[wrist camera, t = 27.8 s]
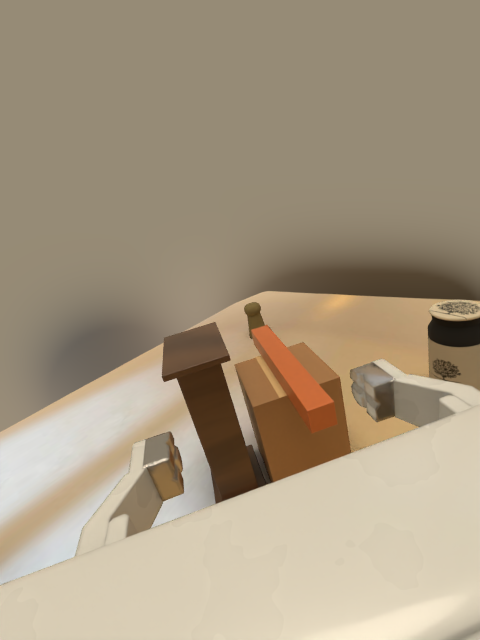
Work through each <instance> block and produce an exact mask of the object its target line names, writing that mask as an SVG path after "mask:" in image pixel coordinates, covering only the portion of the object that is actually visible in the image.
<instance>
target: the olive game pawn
mask: <svg viewBox="0 0 480 640" xmlns="http://www.w3.org/2000/svg"><path fill="white" fill-rule="evenodd" d="M260 310H261V307H260V305H259V304H258V303H256V302H252V303H249V304H247V305H246V306H245V308H244V311H245V313H246V314H247V316H248V324H249V333H250V338H252V339H253V337H252V333H251V330H252V329H256V328H259V327H262V326H265V324H264V322H263V319H262V316H261V314H260Z"/></svg>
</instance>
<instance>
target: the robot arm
mask: <svg viewBox="0 0 480 640" xmlns="http://www.w3.org/2000/svg"><path fill="white" fill-rule="evenodd" d="M350 378H351V379H352V380H353V381H354V382H353V384H352V386H351V388H352V393H353V396H354V398H355V400H356V401H357V403H358V404H359V405H360V406H361V407H365V408H367V413H368V414H369V415H370V416H371V417H372V418H373V419H374V420H375V421H376V422H379V421H382V420H385V419H388V418H391V417H394V416H395V417H396V418H399V419H401V420H404V421H406V422H409V423H411V424H413V425H416V426H418V427H419V428H416V429H414V430H411V431H408V432H406V433H403V434H400V435H398V436H395V437H392V438H390V439H387V440H384V441H382V442H379V443H376V444H374V445H371V446H368V447H366V448H363V449H360V450H358V451H355V452H352V453H350V454H347V455H344V456H342V457H339V458H337V459H334V460H331V461H329V462H326V463H323V464H321V465H318V466H315V467H313V468H310V469H307V470H305V471H302V472H299V473H297V474H294V475H291V476H289V477H286V478H283V479H281V480H278V481H276V482H273V483H270V484H268V485H265V486H262V487H260V488H257V489H254V490H252V491H249V492H246V493H244V494H241V495H238V496H236V497H233V498H230V499H228V500H225V501H222V502H220V503H217V504H214V505H212V506H209V507H206V508H204V509H201V510H198V511H196V512H193V513H190V514H188V515H185V516H182V517H180V518H177V519H174V520H172V521H169V522H166V523H164V524H161V525H159V526H156V527H153V528H151V526H152V524H153V522H154V520H155V518H156V516H157V514H158V512H159V510H160V508H161V506H162V504H163V501H165V500H168V499H170V498H173V497H175V496H178V495H180V494H183V493H184V485H183V477H182V475H181V472H182V471H183V467H182V460H181V456H180V452H179V450H178V447H176V446H175V445H174V438H173V435H172V433H171V432H166V433H163V434H160V435H157V436H154V437H151V438H148V439H145V440H142V441H139V442H136V443H134V444H133V447H132V454H131V460H130V466H129V473H128V474H126V475H124V477H123V478H122V479H121V480H120V482H119V483H118V484H117V485H116V487H115V488H114V489H113V490H112V492H111V493H110V494H109V495H108V497H107V498H106V499H105V501H104V502H103V503H102V504H101V506H100V507H99V508H98V509H97V511H96V512H95V513H94V514H93V516H92V517H91V518H90V519H89V521H88V522H87V523H86V524H85V526H84V527H83V528H82V532H81V535H80V539H79V542H78V546H77V550H76V553H75V557H73V558H71V559H68V560H65V561H63V562H60V563H58V564H55V565H52V566H50V567H47V568H44V569H42V570H39V571H36V572H34V573H31V574H28V575H26V576H23V577H20V578H18V579H15V580H12V581H10V582H7V583H4V584H2V585H0V640H480V391H479V390H478V389H476V388H474V387H473V386H469V385H464V384H459V383H454V382H449V381H443V380H438V379H433V378H428V377H423V376H417V375H412V374H409V375H406V374H405V373H403V372H402V371H400V370H399V369H398V368H396V367H395V366H393V365H392V364H390V363H389V362H387V361H386V360H384V359H379V360H376V361H373V362H371V363H369V364H366V365H363V366H360V367H357V368H354V369H352V370H350ZM150 528H151V529H150Z"/></svg>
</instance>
